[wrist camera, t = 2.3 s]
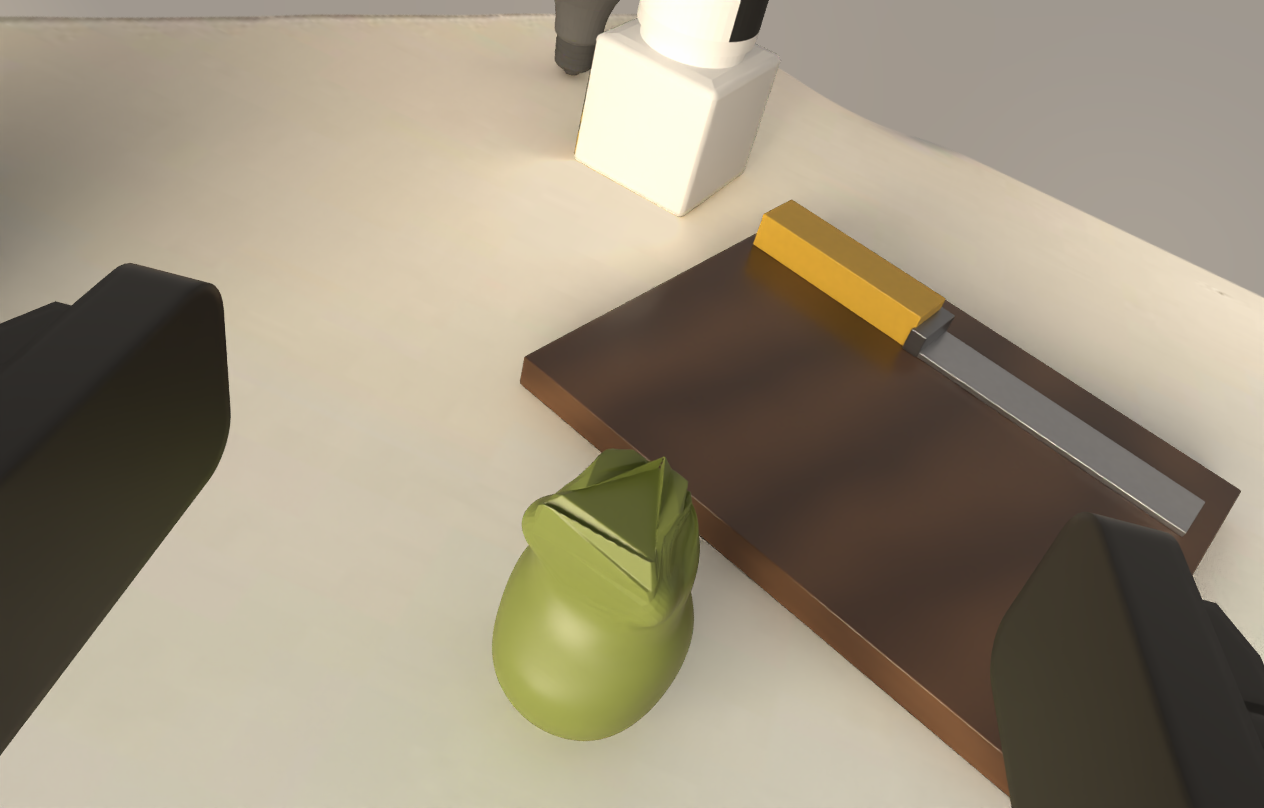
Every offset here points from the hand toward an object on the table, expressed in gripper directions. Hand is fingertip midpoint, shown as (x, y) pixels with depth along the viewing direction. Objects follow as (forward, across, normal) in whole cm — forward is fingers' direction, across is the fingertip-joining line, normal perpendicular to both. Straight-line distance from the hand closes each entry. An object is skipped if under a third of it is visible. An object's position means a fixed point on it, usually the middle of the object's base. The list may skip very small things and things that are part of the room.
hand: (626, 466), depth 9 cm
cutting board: (+26, -11, +19) cm, 34 cm away
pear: (+12, 0, +20) cm, 23 cm away
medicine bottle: (+44, +2, +17) cm, 47 cm away
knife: (+31, -14, +17) cm, 38 cm away
